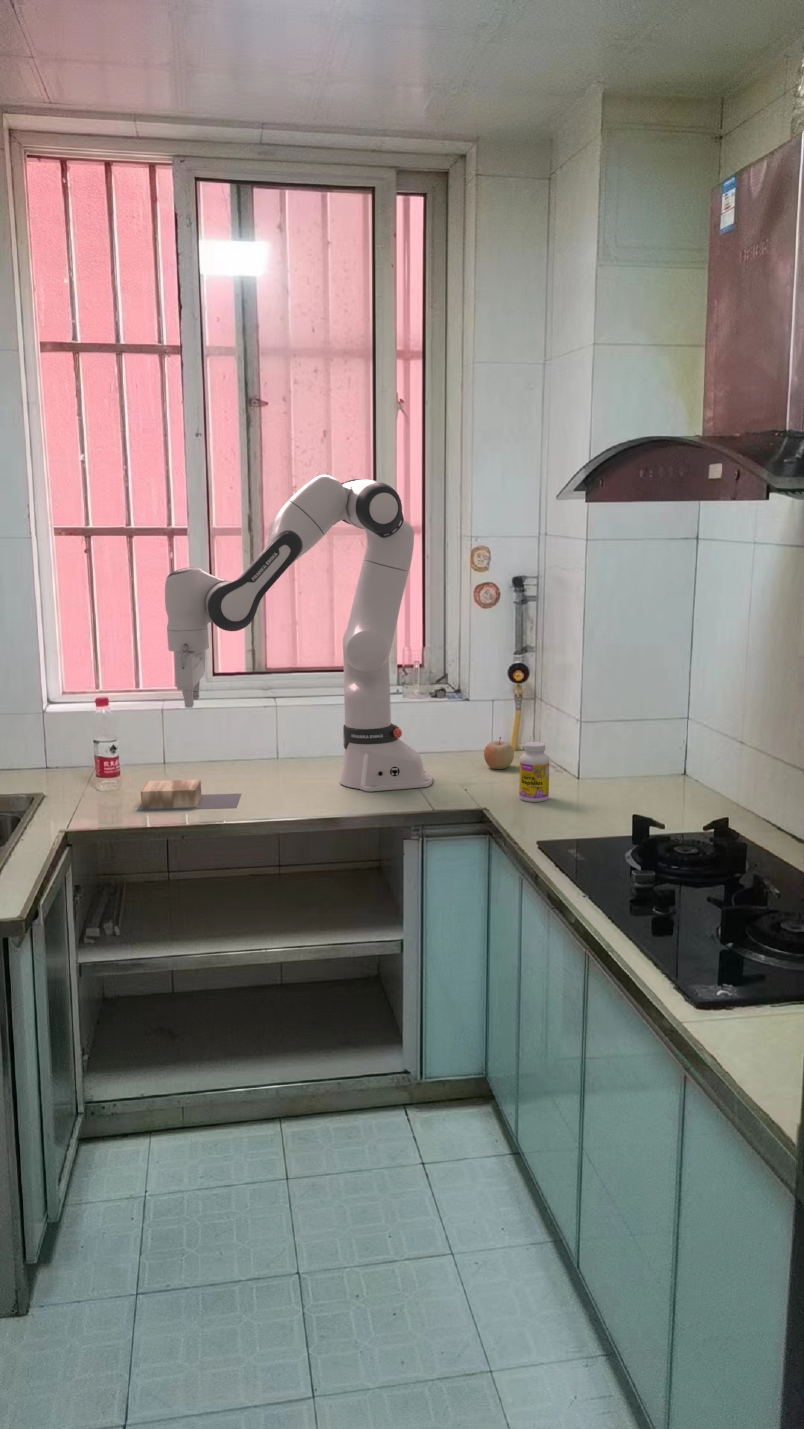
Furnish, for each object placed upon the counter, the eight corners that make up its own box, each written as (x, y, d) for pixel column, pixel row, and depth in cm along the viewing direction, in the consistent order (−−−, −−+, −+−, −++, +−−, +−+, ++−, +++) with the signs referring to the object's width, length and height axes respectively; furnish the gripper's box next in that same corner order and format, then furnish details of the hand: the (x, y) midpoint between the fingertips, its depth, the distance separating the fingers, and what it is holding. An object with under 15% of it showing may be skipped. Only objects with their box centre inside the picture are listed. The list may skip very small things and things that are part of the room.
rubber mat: (241, 795, 249) (241, 793, 248) (236, 810, 237) (236, 808, 237) (146, 798, 247) (146, 796, 247) (136, 813, 236) (136, 810, 236)
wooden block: (200, 779, 246) (147, 781, 245) (195, 789, 237) (140, 791, 236) (201, 796, 247) (149, 797, 246) (196, 807, 238) (141, 808, 237)
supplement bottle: (515, 801, 240) (516, 745, 238) (523, 793, 246) (524, 739, 244) (544, 804, 238) (545, 748, 235) (551, 796, 244) (552, 741, 241)
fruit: (497, 763, 276) (497, 732, 274) (519, 767, 270) (519, 737, 269) (477, 768, 271) (477, 737, 269) (498, 773, 265) (498, 742, 264)
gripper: (196, 647, 225) (200, 711, 228) (208, 635, 245) (211, 694, 248) (166, 648, 225) (170, 712, 228) (180, 636, 245) (184, 695, 248)
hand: (192, 703), depth 238 cm, fingers open, 8 cm apart
